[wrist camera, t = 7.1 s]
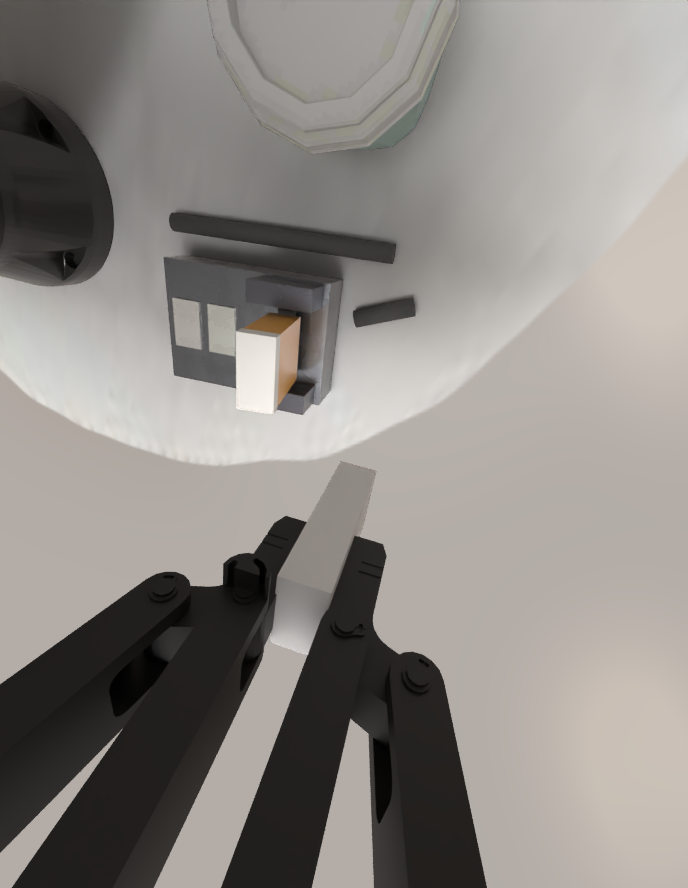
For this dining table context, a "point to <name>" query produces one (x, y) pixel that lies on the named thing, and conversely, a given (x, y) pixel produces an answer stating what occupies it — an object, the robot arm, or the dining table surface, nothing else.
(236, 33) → the disposable coffee cup
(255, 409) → the lever
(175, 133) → the dining table surface
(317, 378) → the labelled grey housing
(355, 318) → the dark grey peg
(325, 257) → the dining table surface
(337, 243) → the dark grey rod
